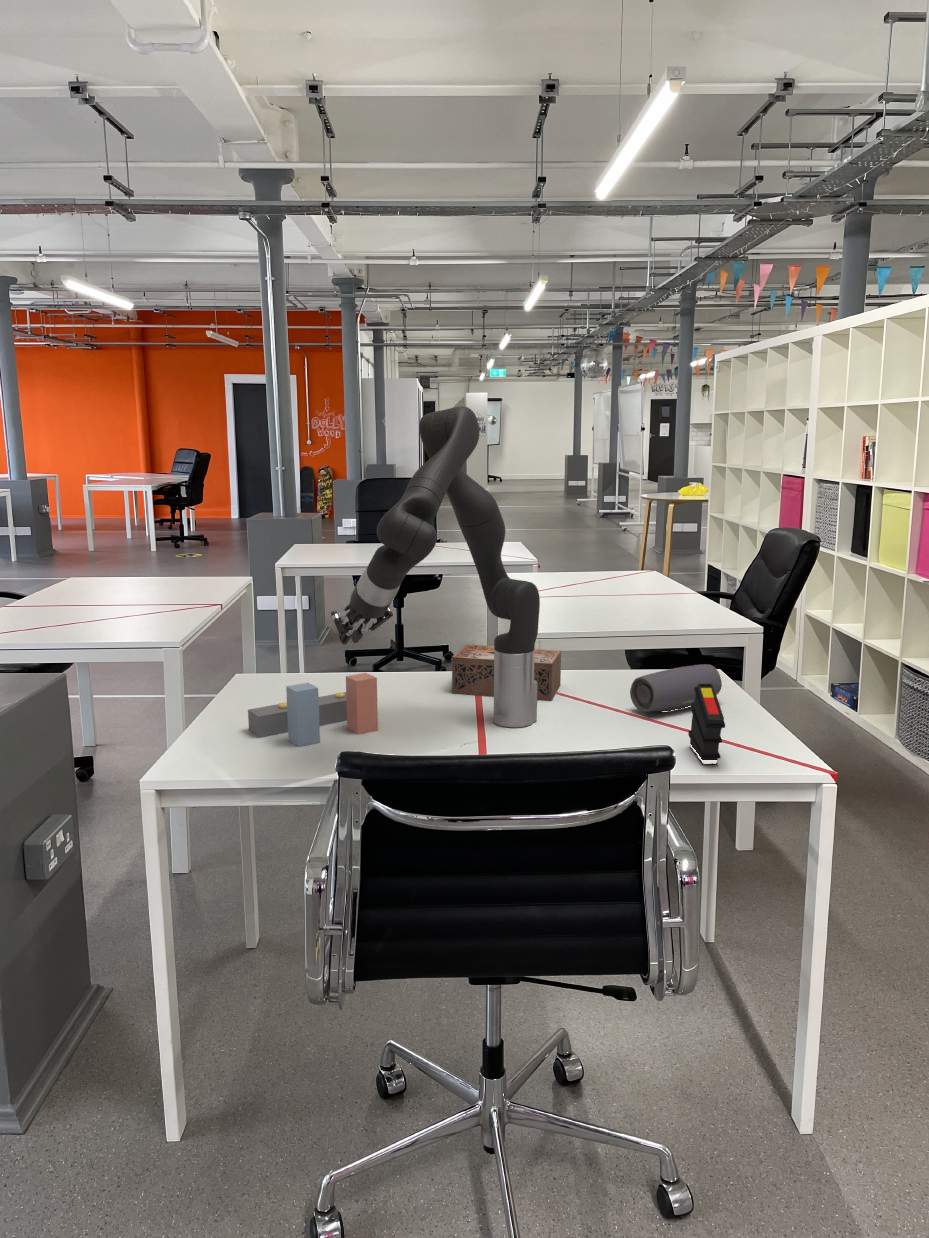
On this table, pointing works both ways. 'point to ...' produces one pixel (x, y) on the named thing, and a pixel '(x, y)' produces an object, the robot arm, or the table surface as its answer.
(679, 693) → the bluetooth speaker
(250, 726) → the console
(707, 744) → the black stepped tower
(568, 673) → the table surface
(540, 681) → the tissue box cover
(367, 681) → the red key
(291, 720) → the blue key
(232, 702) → the table surface
